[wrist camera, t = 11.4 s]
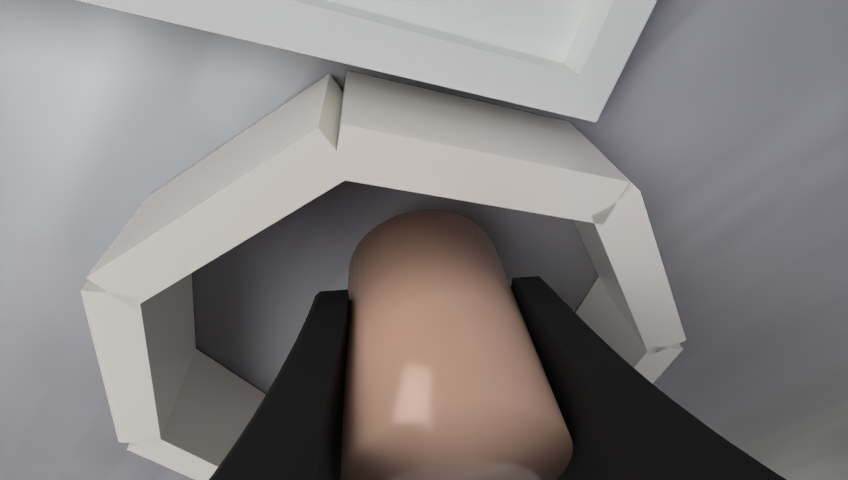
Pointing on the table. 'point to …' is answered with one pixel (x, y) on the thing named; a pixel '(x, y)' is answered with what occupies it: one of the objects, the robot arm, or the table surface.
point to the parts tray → (442, 40)
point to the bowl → (311, 177)
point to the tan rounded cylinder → (442, 362)
